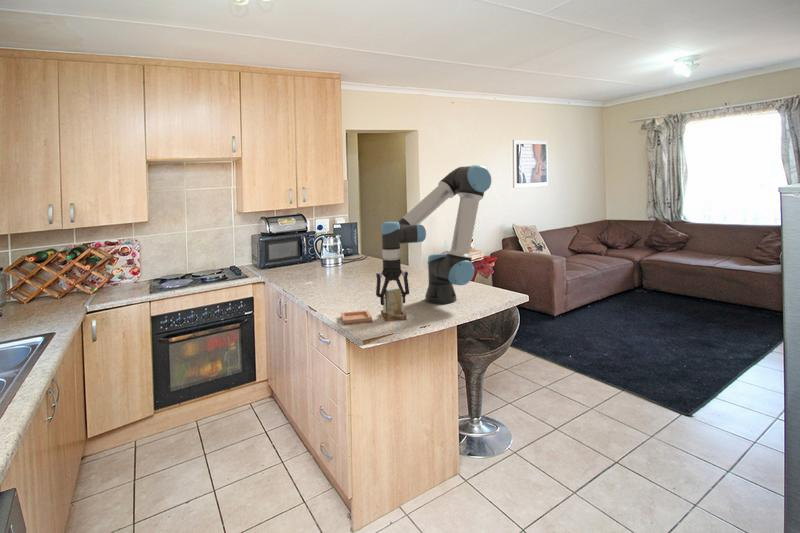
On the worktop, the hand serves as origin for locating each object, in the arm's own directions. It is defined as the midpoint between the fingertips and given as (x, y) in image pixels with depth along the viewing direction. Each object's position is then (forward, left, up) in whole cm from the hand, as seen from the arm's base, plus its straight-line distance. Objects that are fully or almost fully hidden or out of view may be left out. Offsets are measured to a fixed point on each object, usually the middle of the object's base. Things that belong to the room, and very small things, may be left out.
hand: (393, 311), depth 187 cm
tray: (+16, -1, -3) cm, 16 cm away
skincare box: (0, 0, -3) cm, 3 cm away
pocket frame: (0, 0, -3) cm, 3 cm away
